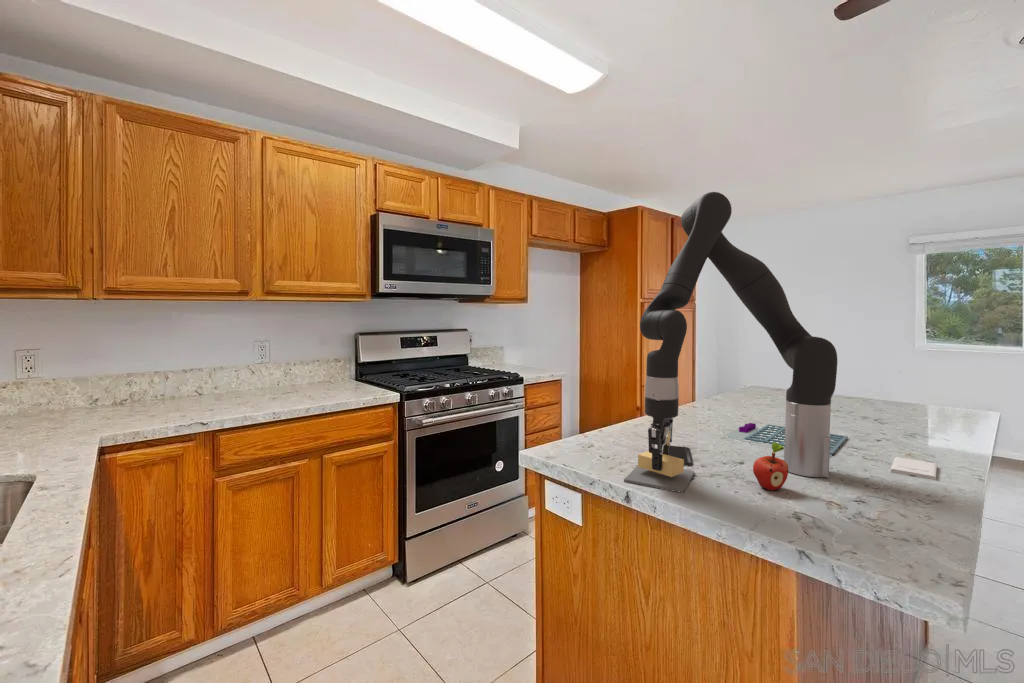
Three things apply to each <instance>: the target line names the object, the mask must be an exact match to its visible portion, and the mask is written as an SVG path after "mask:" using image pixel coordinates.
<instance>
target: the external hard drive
mask: <svg viewBox="0 0 1024 683" xmlns="http://www.w3.org/2000/svg"><path fill="white" fill-rule="evenodd" d="M937 466H938V465H937V463H935V462H928V461H924V460H917V459H911V458H910V459H909V458H906V457H905V458H904V457H898V456H896V457H894V460H893V462H892V464H891V467H890V473H892V474H897V475H904V476H909V477H916V478H920V479H926V480H930V481H931V480H932V481H937V470H938V469H937V468H938V467H937Z"/></svg>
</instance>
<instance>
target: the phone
mask: <svg viewBox="0 0 1024 683" xmlns="http://www.w3.org/2000/svg"><path fill="white" fill-rule="evenodd" d="M691 454H692V453H691V450H690V447H687V446H677V445H676V446H675V445H670V447H669V456H673V457H677V458H680V459H684V465H692V466H693V459H692V455H691Z"/></svg>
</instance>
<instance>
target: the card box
mask: <svg viewBox="0 0 1024 683" xmlns="http://www.w3.org/2000/svg"><path fill="white" fill-rule="evenodd" d="M637 466H638V467H640V468H644V469H647V470H650V471H654V472H657V473H660V474H664V475H667V476H670V477H673V476H675V475H678V474H680V473H683V472H684V470H685V466H684V459H680V458H677V457H673V456H669V455H665V454H663V458H662V470H661V471H658V470H653V469H652V453H649V450H648V451H645V452H642V453H638V454H637Z"/></svg>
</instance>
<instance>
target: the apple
mask: <svg viewBox="0 0 1024 683" xmlns="http://www.w3.org/2000/svg"><path fill="white" fill-rule="evenodd" d="M771 446H772V447H771V448H772V452H771V455H765V456H760V457H758V458H756V459H755V461H754V462H753V467H752V472H753V474H754V477H755V479H756V480H757V482H758V485H759V486H760V487H761V488H764V489H766V490H768V491H777V490H781V489H782V488H783V486H784V485H785V483H786V481H787V479H788V476H789V471H788V465H787V463H786V462H785V461H784V459H782V458H779V457H776V453H777V452H780V451H784V450H783V449H784V447H783V446H781V445H780V444H779V443H776V442H773V443H772V445H771Z"/></svg>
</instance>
